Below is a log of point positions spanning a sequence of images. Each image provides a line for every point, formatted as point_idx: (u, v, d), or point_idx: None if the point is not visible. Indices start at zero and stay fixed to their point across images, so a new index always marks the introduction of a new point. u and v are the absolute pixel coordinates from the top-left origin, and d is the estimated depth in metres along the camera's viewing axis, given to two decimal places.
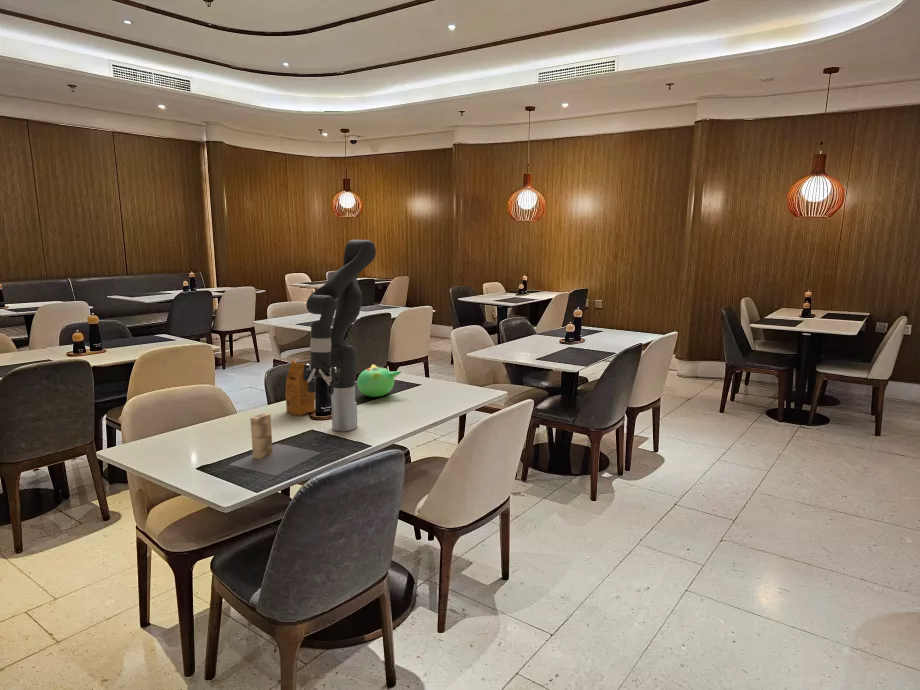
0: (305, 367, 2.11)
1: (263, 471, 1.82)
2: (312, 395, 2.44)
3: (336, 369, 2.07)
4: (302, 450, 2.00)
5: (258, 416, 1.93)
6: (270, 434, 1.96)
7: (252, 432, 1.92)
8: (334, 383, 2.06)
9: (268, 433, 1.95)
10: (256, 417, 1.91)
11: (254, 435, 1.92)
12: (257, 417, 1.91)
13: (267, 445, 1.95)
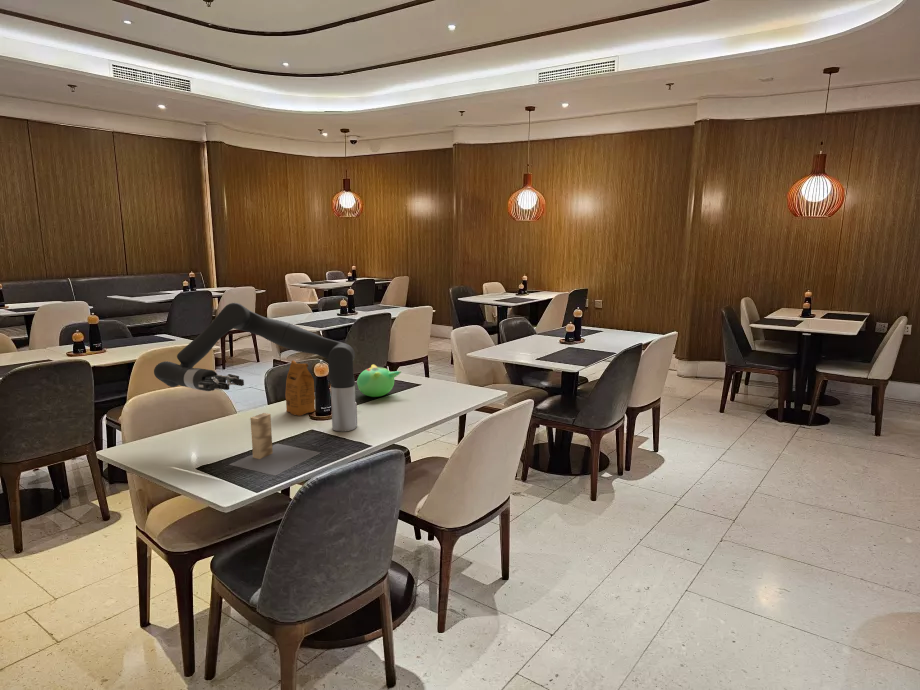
0: (230, 381, 2.05)
1: (263, 471, 1.82)
2: (312, 395, 2.44)
3: (199, 384, 1.94)
4: (302, 450, 2.00)
5: (258, 416, 1.93)
6: (270, 434, 1.96)
7: (252, 432, 1.92)
8: (211, 390, 1.93)
9: (268, 433, 1.95)
10: (256, 417, 1.91)
11: (254, 435, 1.92)
12: (257, 417, 1.91)
13: (267, 445, 1.95)
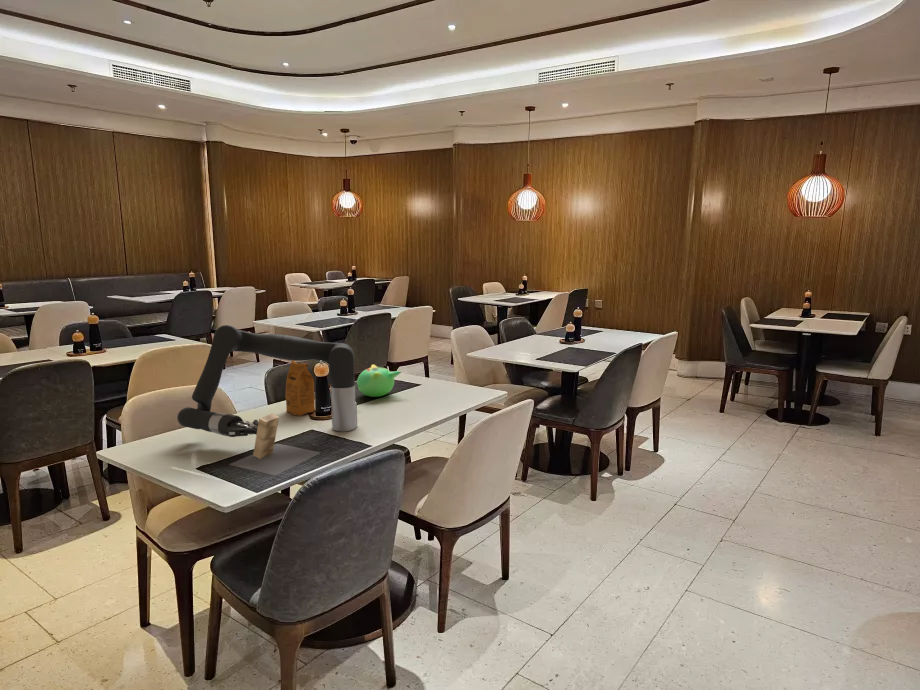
0: None
1: (263, 471, 1.82)
2: (312, 395, 2.44)
3: (231, 432, 1.92)
4: (302, 450, 2.00)
5: (267, 417, 1.91)
6: (274, 436, 1.95)
7: (257, 432, 1.91)
8: (245, 435, 1.93)
9: (273, 435, 1.94)
10: (264, 419, 1.90)
11: (259, 436, 1.91)
12: (266, 419, 1.90)
13: (269, 446, 1.95)
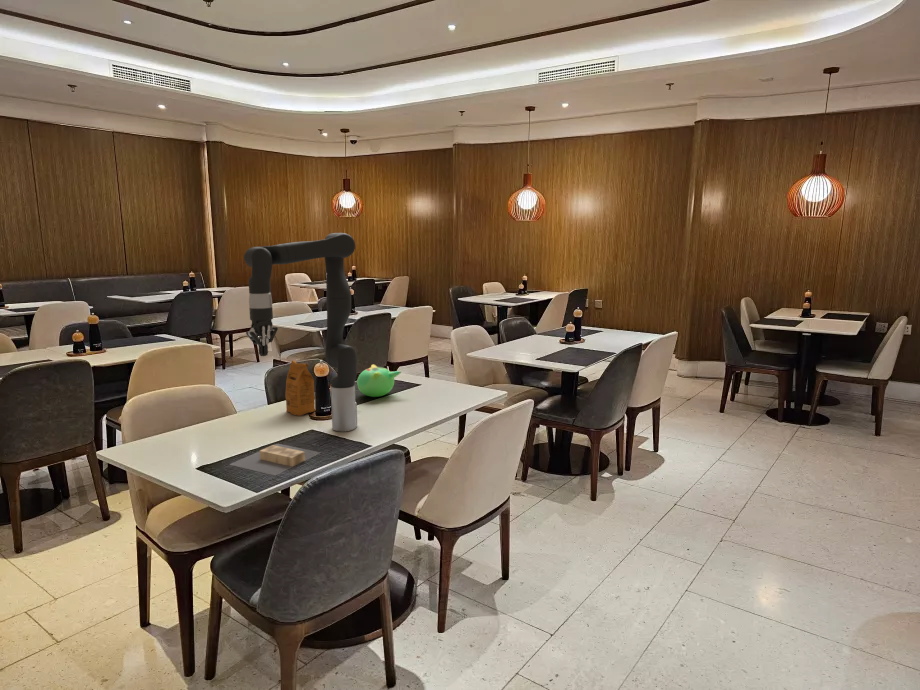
0: None
1: (263, 471, 1.82)
2: (312, 395, 2.44)
3: (250, 334, 1.93)
4: (302, 450, 2.00)
5: (297, 458, 1.88)
6: None
7: (279, 455, 1.88)
8: None
9: None
10: (294, 461, 1.87)
11: (277, 458, 1.89)
12: (294, 461, 1.87)
13: None
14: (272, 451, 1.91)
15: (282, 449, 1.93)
